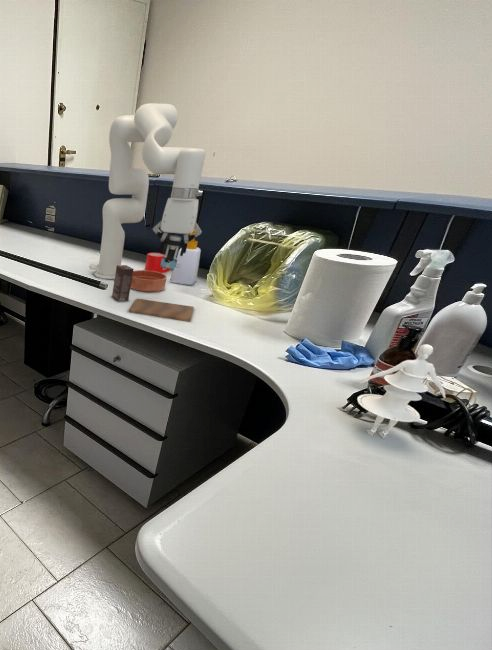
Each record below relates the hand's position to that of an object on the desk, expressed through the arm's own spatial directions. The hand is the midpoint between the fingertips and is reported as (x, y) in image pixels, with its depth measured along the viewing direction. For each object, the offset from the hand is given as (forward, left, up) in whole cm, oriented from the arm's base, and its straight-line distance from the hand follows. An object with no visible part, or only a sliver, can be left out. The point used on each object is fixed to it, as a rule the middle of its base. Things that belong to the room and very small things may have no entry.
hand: (172, 253), depth 134 cm
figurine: (+50, -56, -20) cm, 77 cm away
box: (-16, +5, -20) cm, 26 cm away
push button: (0, 0, -5) cm, 5 cm away
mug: (-9, +51, -20) cm, 55 cm away
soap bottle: (+3, +38, -20) cm, 43 cm away
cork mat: (0, -1, -19) cm, 19 cm away
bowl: (-10, +25, -19) cm, 33 cm away
